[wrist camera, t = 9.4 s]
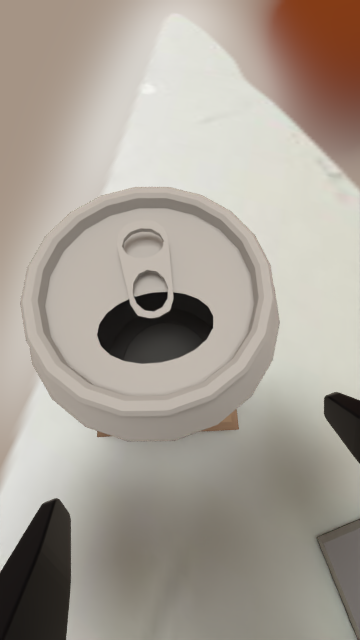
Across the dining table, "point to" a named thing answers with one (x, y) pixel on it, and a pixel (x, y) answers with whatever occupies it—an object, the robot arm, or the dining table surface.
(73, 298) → the can
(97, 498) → the dining table surface
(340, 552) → the slate coaster
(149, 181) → the dining table surface
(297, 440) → the dining table surface
